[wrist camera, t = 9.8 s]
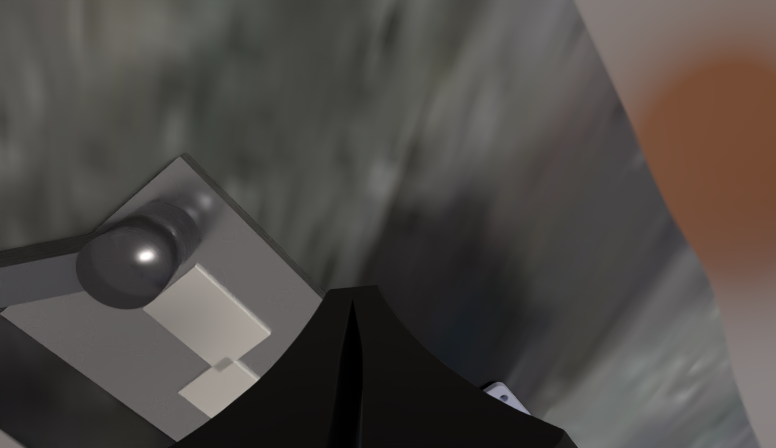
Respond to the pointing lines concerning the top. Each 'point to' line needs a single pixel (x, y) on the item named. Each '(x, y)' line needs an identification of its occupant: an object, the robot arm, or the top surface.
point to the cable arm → (104, 261)
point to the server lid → (135, 326)
